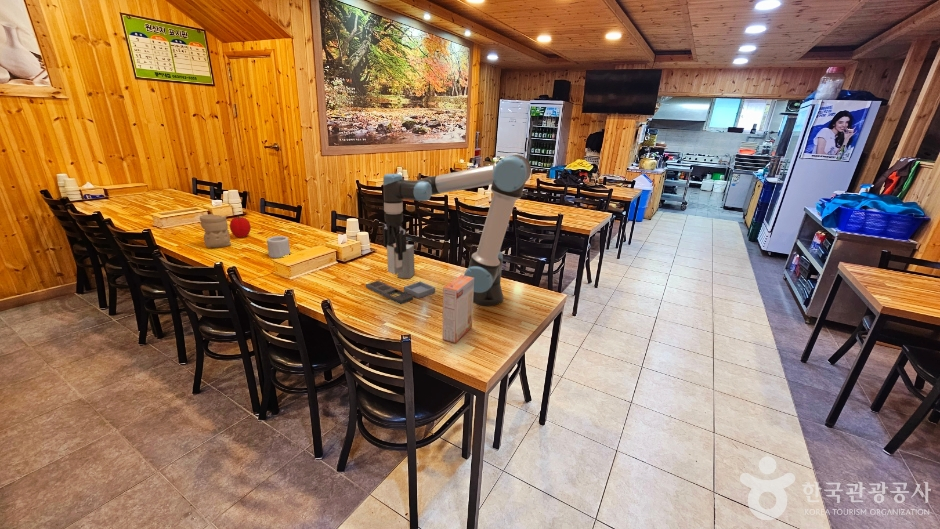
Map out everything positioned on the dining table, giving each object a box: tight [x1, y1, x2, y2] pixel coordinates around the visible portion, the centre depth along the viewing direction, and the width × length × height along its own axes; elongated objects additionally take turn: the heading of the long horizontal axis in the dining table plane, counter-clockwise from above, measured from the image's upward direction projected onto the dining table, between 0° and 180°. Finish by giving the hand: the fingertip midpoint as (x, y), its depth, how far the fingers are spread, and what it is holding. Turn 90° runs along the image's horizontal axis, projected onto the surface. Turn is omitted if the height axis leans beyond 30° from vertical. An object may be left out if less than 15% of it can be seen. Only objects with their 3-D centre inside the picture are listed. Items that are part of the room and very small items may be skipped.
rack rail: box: [365, 280, 414, 305], centre depth 168 cm, size 25×7×2 cm, turn 50°
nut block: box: [386, 242, 403, 275], centre depth 160 cm, size 5×5×12 cm
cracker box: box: [442, 274, 474, 344], centre depth 135 cm, size 14×6×21 cm, turn 154°
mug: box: [266, 235, 291, 259], centre depth 207 cm, size 14×11×10 cm
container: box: [199, 213, 232, 248], centre depth 215 cm, size 13×13×18 cm
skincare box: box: [397, 244, 416, 280], centre depth 187 cm, size 8×7×16 cm
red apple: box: [229, 216, 251, 238], centre depth 235 cm, size 12×12×13 cm
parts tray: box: [403, 280, 436, 300], centre depth 171 cm, size 10×10×2 cm
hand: (395, 265), depth 161 cm, fingers closed on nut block, 5 cm apart
